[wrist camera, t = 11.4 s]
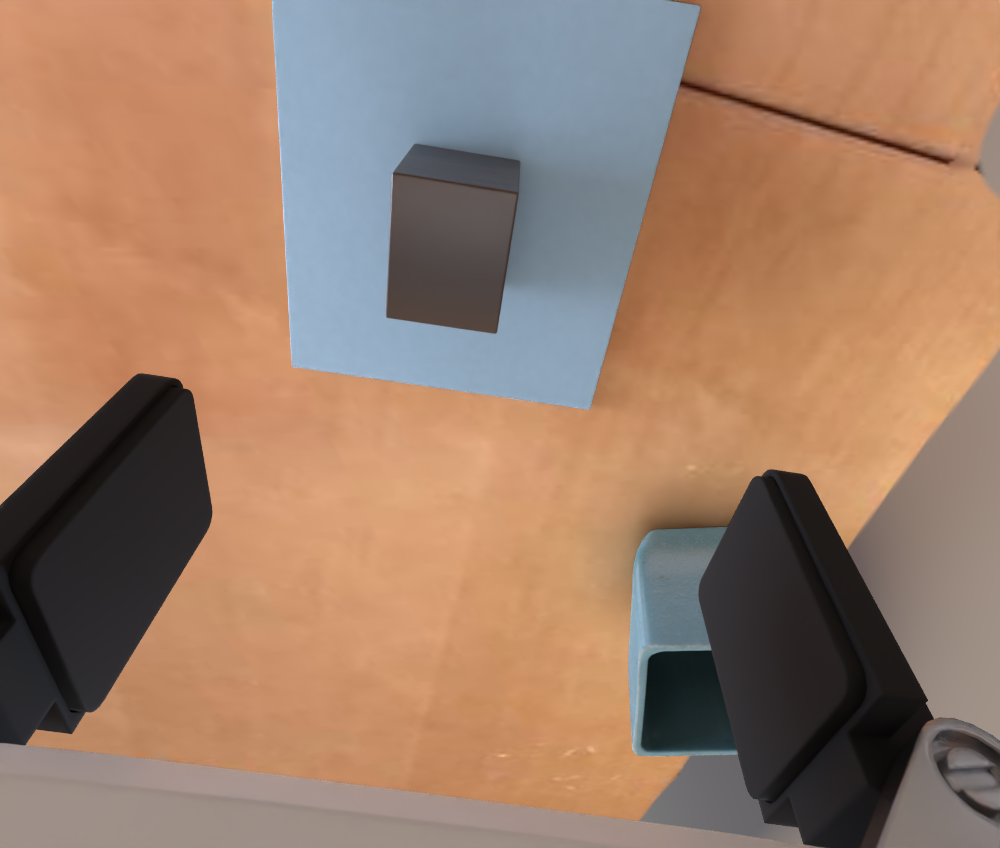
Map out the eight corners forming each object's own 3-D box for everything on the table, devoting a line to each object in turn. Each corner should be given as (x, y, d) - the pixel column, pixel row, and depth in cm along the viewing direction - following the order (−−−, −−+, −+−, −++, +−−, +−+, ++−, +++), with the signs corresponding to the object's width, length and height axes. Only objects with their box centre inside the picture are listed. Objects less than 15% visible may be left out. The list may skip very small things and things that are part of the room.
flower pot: (785, 495, 32) (861, 644, 25) (759, 605, 37) (816, 756, 30) (615, 501, 33) (640, 648, 26) (612, 609, 38) (632, 757, 31)
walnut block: (413, 143, 23) (391, 172, 19) (520, 160, 23) (519, 192, 19) (406, 271, 26) (385, 318, 22) (501, 286, 26) (496, 335, 22)
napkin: (271, -72, 20) (267, -73, 19) (699, 5, 20) (702, 5, 20) (294, 363, 29) (291, 367, 29) (589, 405, 30) (590, 410, 29)
